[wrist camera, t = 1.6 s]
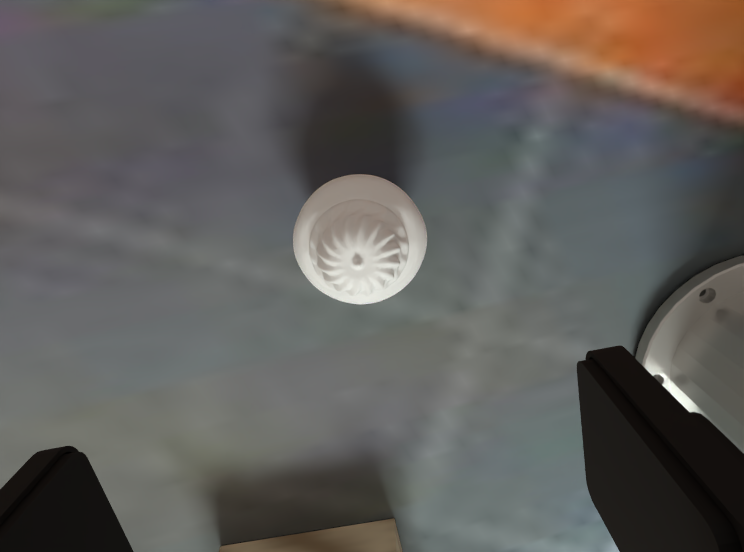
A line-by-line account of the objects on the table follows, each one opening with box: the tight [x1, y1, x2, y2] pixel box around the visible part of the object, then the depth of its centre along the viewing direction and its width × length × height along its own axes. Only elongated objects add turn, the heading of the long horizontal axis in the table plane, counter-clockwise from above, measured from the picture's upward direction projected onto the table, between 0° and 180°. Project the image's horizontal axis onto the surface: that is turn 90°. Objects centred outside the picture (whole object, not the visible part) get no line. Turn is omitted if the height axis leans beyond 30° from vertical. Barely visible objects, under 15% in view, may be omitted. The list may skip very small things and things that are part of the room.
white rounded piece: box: [293, 174, 427, 304], centre depth 23 cm, size 6×6×7 cm
